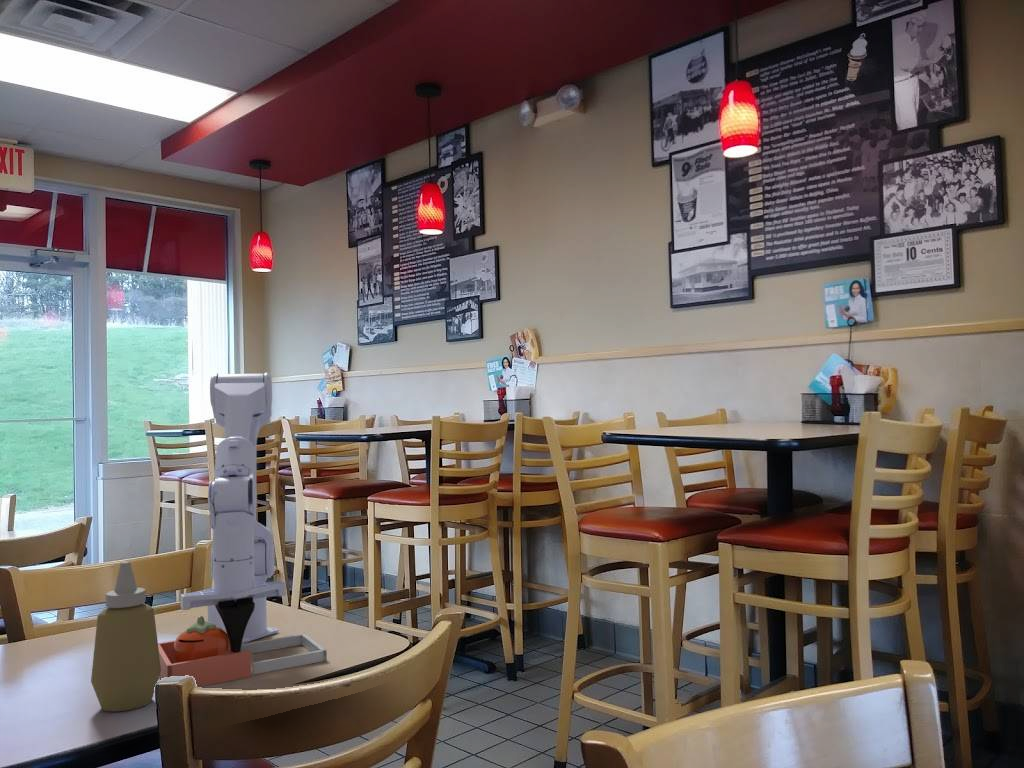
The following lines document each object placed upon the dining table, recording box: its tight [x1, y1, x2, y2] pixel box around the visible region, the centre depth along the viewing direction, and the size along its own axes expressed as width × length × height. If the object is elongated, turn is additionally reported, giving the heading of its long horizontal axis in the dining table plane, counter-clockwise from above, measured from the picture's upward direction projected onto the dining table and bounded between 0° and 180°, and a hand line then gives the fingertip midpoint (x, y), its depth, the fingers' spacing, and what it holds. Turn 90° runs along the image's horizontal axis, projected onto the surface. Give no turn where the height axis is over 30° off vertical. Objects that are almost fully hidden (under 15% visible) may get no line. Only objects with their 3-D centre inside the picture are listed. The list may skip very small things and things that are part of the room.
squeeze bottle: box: [90, 561, 161, 712], centre depth 102 cm, size 8×8×18 cm
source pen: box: [240, 633, 328, 675], centre depth 120 cm, size 11×11×2 cm
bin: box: [158, 632, 252, 687], centre depth 114 cm, size 11×13×4 cm
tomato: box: [173, 615, 228, 663], centre depth 114 cm, size 7×7×8 cm
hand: (235, 651), depth 116 cm, fingers closed
